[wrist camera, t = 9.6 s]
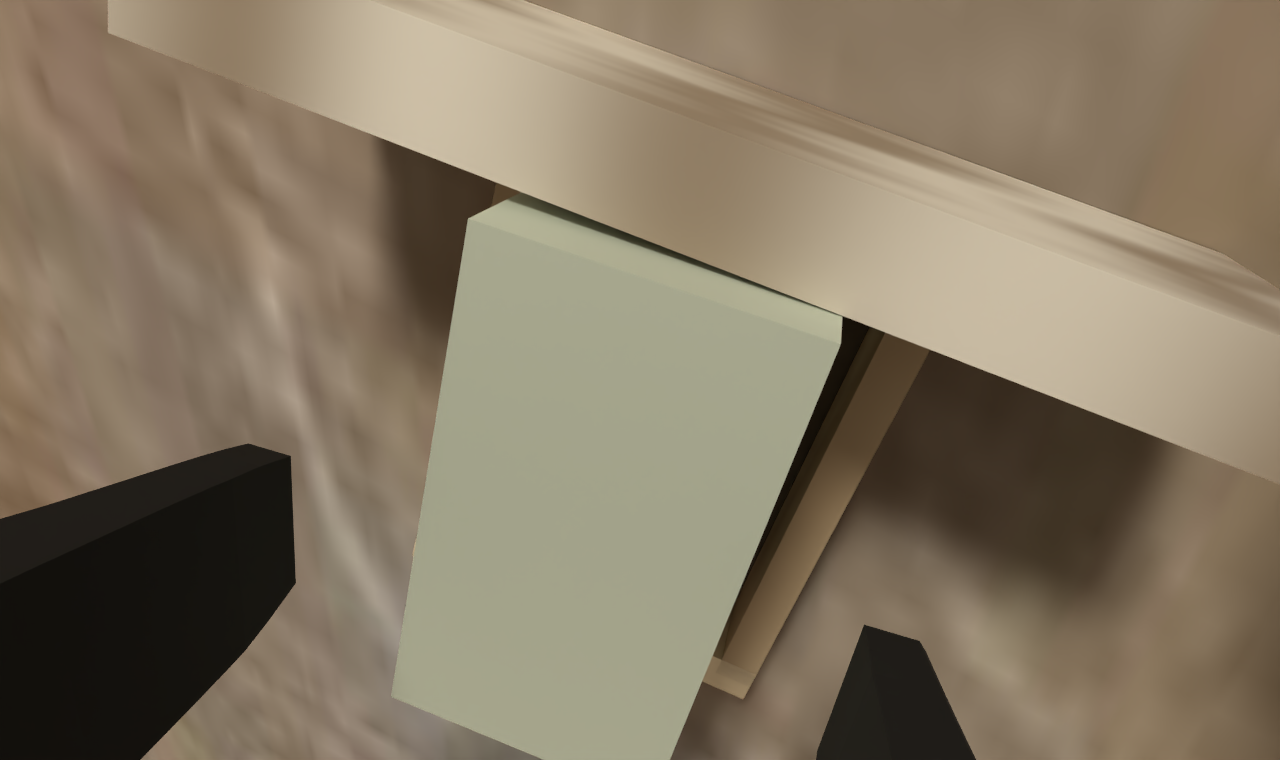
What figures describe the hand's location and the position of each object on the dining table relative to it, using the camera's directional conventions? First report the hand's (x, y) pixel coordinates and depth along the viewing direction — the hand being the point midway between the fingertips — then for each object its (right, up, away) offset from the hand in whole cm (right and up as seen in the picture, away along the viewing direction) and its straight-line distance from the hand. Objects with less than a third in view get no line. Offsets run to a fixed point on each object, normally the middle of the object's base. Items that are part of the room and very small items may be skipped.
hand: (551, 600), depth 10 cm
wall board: (+2, +3, +7) cm, 8 cm away
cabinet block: (+2, +3, +7) cm, 8 cm away
